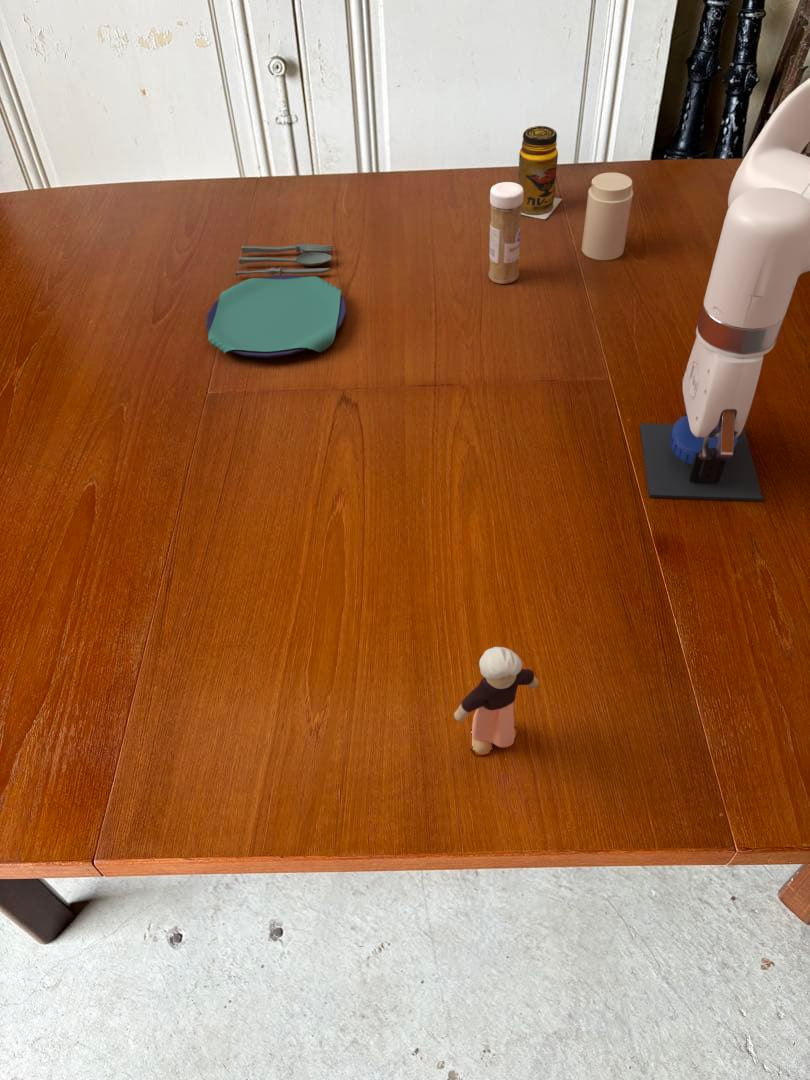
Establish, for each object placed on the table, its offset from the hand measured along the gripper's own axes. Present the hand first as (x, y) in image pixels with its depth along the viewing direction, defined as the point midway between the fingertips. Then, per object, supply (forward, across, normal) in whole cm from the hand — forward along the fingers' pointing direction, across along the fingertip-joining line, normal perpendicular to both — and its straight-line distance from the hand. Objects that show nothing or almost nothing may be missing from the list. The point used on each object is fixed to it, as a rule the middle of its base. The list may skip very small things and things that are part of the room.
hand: (698, 456), depth 93 cm
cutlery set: (+1, -31, -55) cm, 63 cm away
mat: (+1, 0, 0) cm, 1 cm away
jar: (+1, -47, -8) cm, 48 cm away
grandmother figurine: (+1, +36, -22) cm, 42 cm away
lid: (-3, 0, 0) cm, 3 cm away
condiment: (+1, -61, -19) cm, 64 cm away
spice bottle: (+1, -39, -23) cm, 45 cm away
